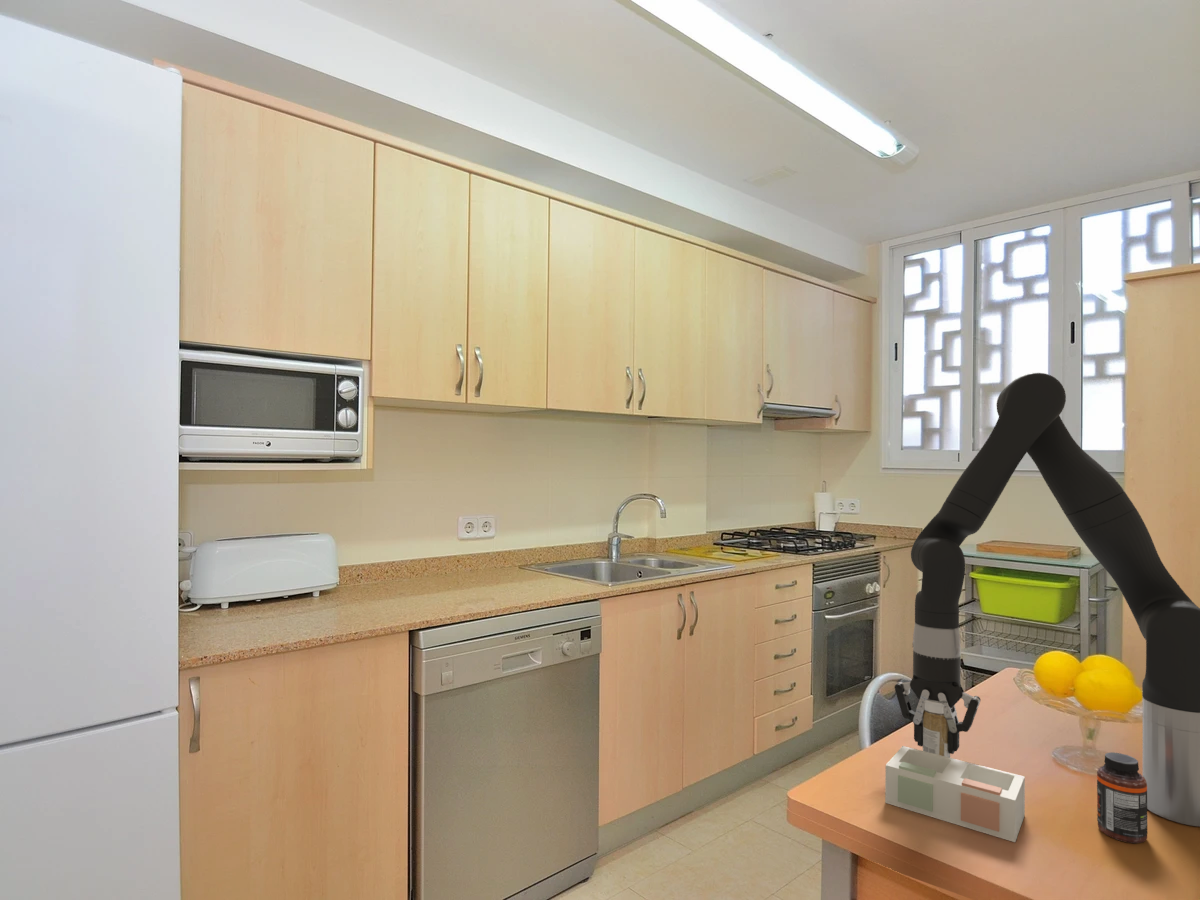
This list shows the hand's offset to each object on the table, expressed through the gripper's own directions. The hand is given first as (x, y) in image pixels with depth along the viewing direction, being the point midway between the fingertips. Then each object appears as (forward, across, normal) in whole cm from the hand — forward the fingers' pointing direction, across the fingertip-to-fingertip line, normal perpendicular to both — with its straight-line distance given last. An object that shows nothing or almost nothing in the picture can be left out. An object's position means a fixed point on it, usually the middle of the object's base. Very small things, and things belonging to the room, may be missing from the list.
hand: (936, 748), depth 120 cm
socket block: (+5, -5, +11) cm, 13 cm away
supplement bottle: (+5, -26, +3) cm, 27 cm away
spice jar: (+5, 0, 0) cm, 5 cm away
